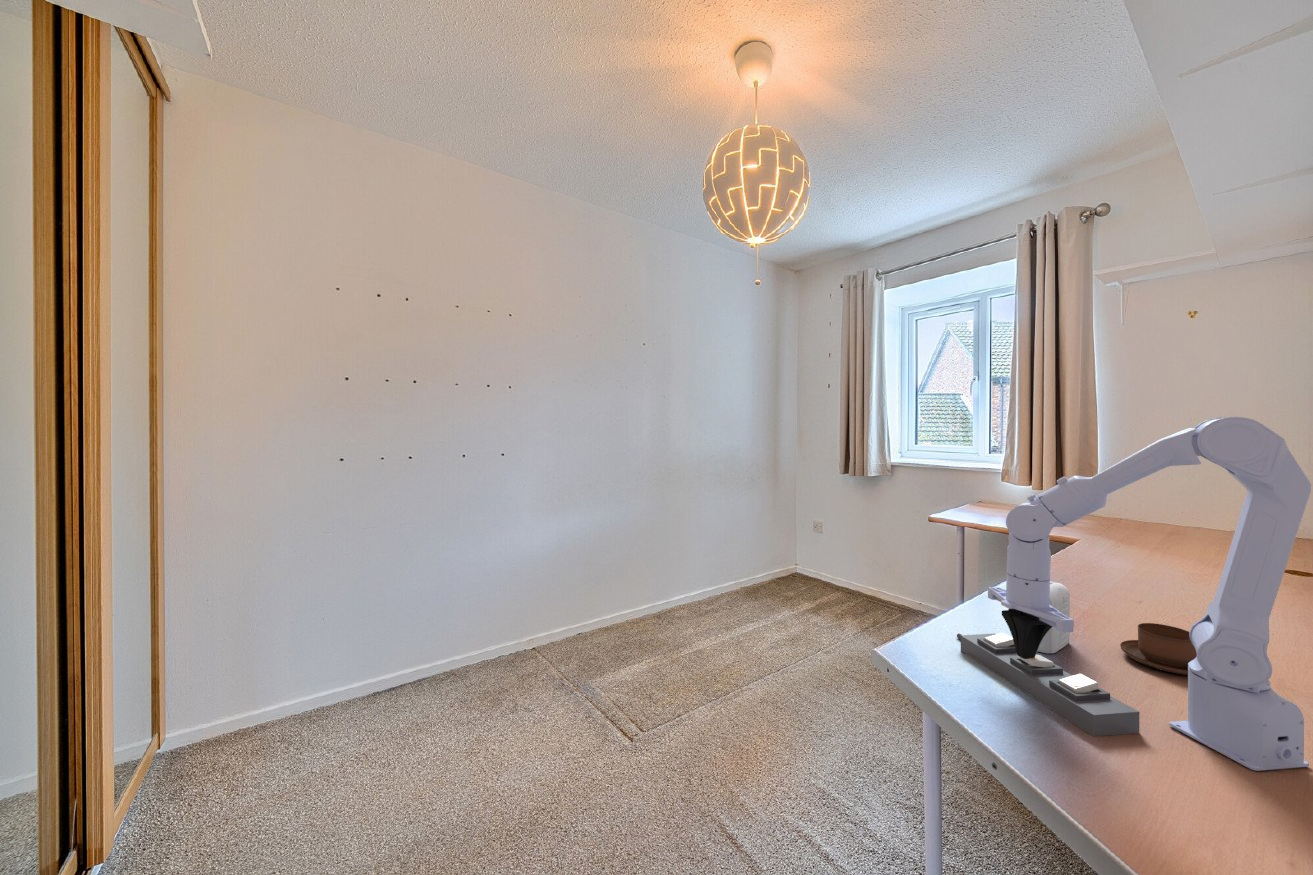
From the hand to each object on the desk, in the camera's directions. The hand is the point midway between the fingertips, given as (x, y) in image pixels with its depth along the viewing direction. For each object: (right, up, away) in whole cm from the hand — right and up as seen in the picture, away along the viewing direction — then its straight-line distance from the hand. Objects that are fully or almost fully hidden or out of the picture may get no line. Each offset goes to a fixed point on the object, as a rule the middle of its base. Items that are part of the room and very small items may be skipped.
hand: (1025, 656), depth 80 cm
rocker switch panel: (+2, -5, +3) cm, 6 cm away
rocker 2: (+2, -1, -7) cm, 8 cm away
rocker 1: (+1, -1, +7) cm, 8 cm away
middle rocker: (+2, -1, 0) cm, 2 cm away
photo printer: (+16, -5, +14) cm, 22 cm away
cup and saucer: (+30, -5, +6) cm, 31 cm away
